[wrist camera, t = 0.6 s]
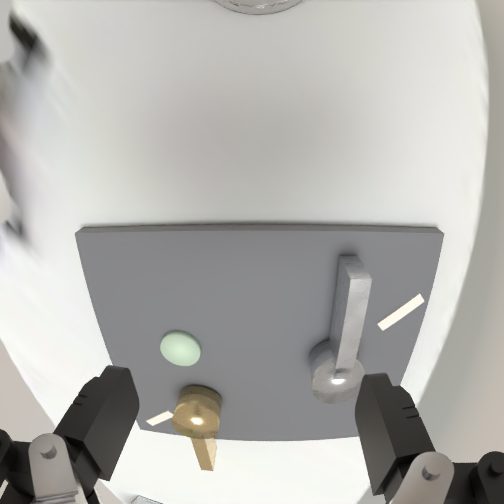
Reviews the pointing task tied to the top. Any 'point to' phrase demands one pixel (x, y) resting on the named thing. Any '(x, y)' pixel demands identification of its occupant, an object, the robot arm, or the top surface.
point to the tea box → (143, 501)
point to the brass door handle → (199, 421)
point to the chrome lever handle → (342, 337)
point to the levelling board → (251, 315)
